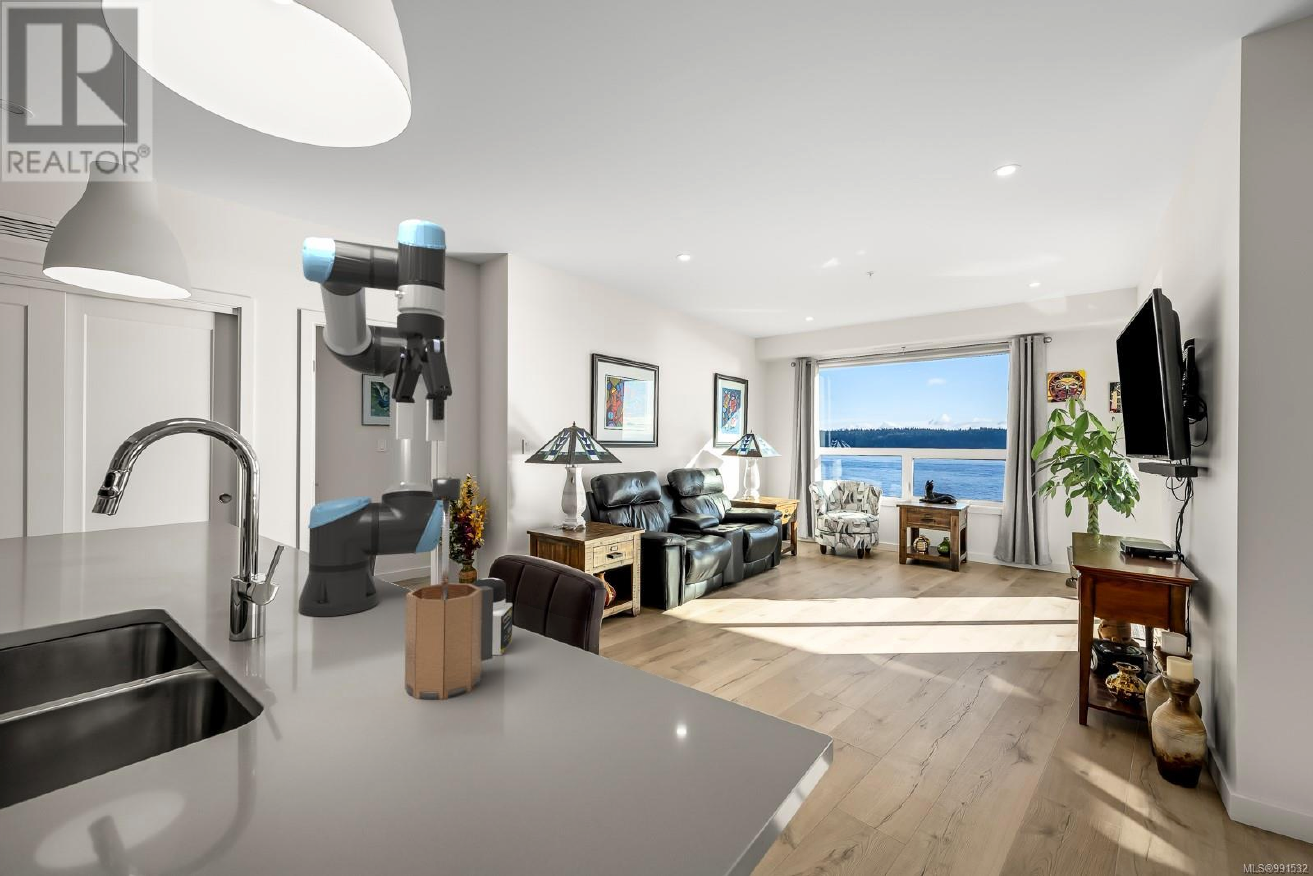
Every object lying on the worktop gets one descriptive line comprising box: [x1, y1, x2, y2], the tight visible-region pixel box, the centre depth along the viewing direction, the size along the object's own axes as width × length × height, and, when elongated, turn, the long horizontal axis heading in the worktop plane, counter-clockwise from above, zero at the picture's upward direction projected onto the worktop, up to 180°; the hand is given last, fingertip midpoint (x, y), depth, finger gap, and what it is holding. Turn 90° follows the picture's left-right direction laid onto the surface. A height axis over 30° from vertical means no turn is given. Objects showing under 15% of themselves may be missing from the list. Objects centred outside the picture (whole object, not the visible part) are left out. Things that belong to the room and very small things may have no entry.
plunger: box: [431, 477, 462, 600], centre depth 89 cm, size 8×8×22 cm
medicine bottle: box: [471, 577, 514, 656], centre depth 105 cm, size 7×7×12 cm
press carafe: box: [404, 582, 493, 701], centre depth 90 cm, size 10×12×14 cm
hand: (419, 440), depth 101 cm, fingers open, 13 cm apart
